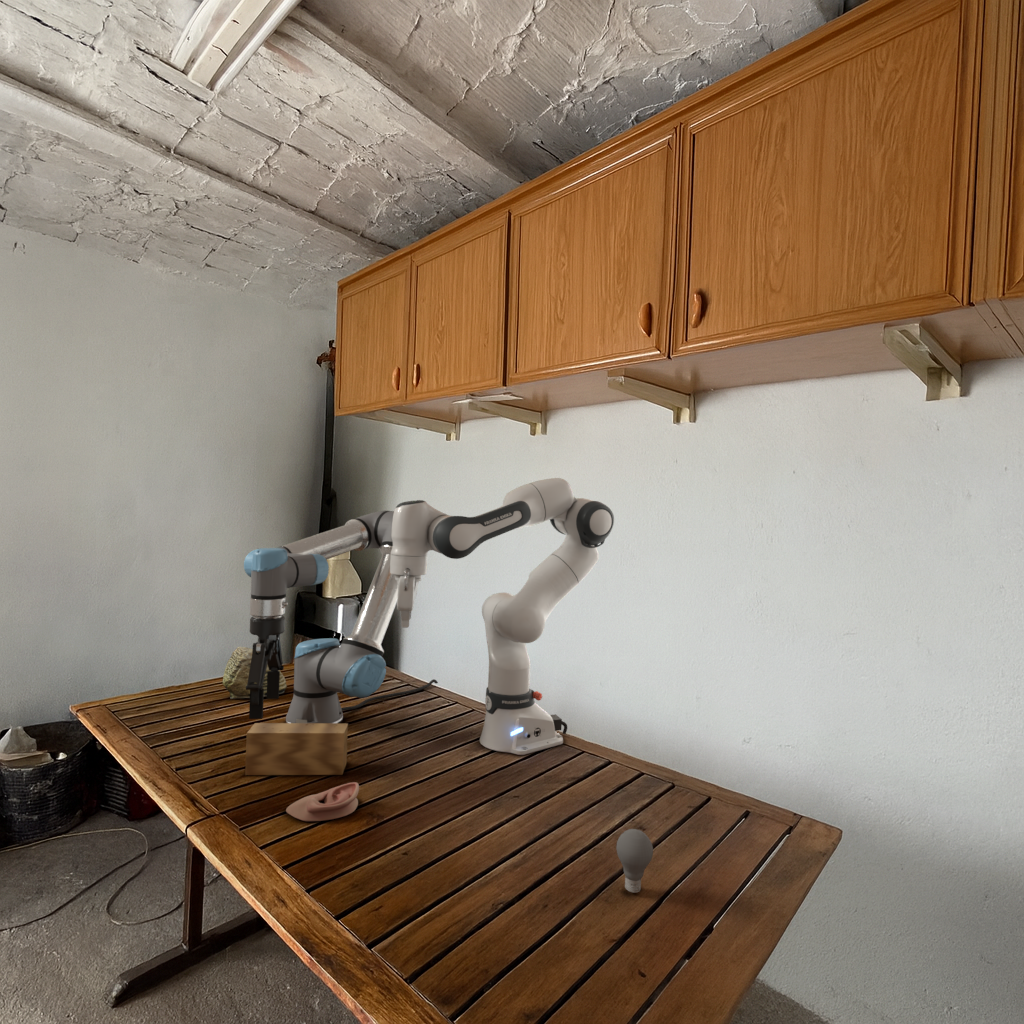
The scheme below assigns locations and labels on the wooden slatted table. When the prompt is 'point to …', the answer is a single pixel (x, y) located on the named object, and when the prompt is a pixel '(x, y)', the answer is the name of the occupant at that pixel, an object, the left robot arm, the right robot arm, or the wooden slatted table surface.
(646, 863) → the light bulb
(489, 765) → the wooden slatted table surface
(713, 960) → the wooden slatted table surface
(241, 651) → the fossil
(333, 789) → the anatomical model
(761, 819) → the wooden slatted table surface
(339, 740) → the box
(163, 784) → the wooden slatted table surface
